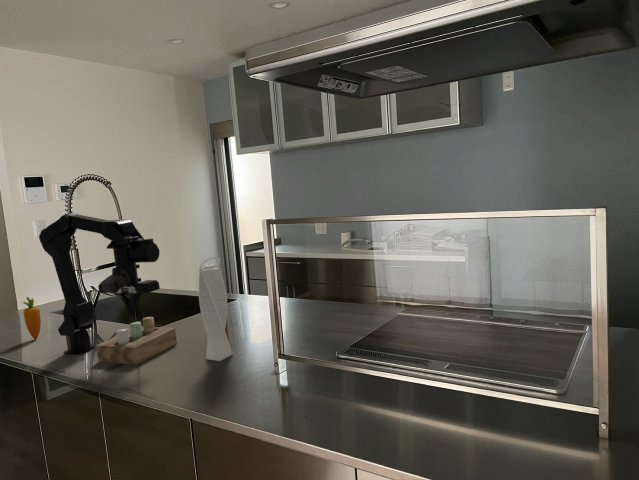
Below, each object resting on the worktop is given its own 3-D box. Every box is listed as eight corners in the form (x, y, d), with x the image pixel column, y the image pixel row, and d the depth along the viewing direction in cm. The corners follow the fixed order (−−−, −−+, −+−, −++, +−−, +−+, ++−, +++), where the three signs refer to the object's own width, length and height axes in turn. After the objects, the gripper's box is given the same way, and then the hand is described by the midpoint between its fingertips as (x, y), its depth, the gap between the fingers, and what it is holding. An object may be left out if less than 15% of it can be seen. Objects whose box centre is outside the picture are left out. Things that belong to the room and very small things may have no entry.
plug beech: (142, 338, 156) (140, 319, 155) (149, 335, 159) (147, 316, 158) (151, 338, 155) (148, 320, 154) (157, 335, 158) (155, 317, 157)
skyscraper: (219, 350, 148) (209, 256, 144) (239, 353, 144) (229, 256, 140) (200, 359, 141) (189, 261, 138) (220, 363, 137) (209, 262, 134)
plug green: (130, 344, 151) (127, 324, 150) (137, 340, 154) (135, 321, 153) (138, 344, 150) (135, 325, 149) (145, 341, 153) (143, 322, 152)
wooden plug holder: (98, 361, 147) (96, 345, 146) (141, 341, 163) (139, 326, 162) (136, 364, 141) (134, 347, 141) (176, 343, 158) (175, 328, 157)
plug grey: (116, 352, 146) (113, 331, 145) (124, 348, 149) (122, 328, 148) (125, 352, 145) (122, 332, 144) (133, 348, 148) (130, 328, 147)
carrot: (42, 339, 174) (36, 297, 172) (26, 342, 172) (19, 299, 171) (44, 336, 179) (38, 294, 177) (28, 338, 177) (22, 297, 175)
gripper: (79, 268, 144) (87, 321, 146) (129, 268, 137) (136, 324, 139) (110, 261, 154) (116, 310, 156) (157, 260, 147) (164, 312, 149)
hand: (132, 314), depth 150 cm, fingers closed
